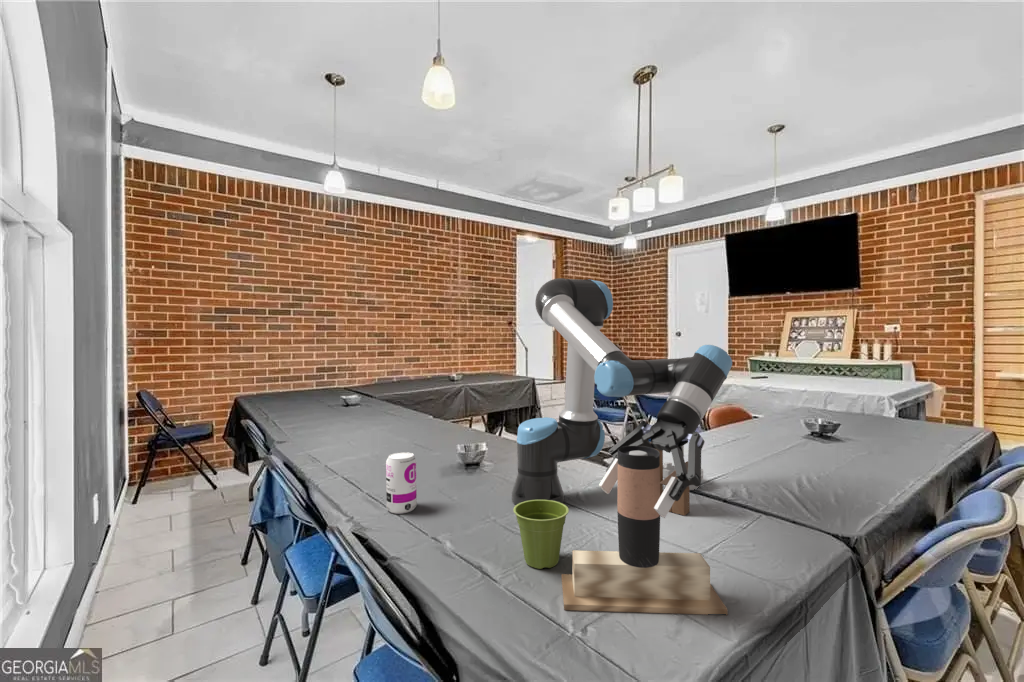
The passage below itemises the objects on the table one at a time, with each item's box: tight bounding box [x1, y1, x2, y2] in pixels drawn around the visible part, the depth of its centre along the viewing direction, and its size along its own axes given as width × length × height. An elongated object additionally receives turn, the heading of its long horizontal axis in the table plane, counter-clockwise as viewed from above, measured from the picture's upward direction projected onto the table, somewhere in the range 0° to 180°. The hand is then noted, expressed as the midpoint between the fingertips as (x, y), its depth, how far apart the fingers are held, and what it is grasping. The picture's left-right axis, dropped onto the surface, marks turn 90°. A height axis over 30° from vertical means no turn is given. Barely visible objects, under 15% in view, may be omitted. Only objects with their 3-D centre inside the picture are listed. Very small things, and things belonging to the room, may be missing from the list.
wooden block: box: [649, 441, 691, 516], centre depth 124 cm, size 4×11×18 cm, turn 47°
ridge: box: [561, 549, 728, 616], centre depth 83 cm, size 28×10×7 cm, turn 86°
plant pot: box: [512, 500, 570, 570], centre depth 96 cm, size 12×12×11 cm
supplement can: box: [385, 451, 418, 515], centre depth 126 cm, size 8×8×15 cm
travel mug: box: [616, 446, 661, 568], centre depth 83 cm, size 8×8×20 cm
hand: (629, 500), depth 82 cm, fingers open, 13 cm apart
